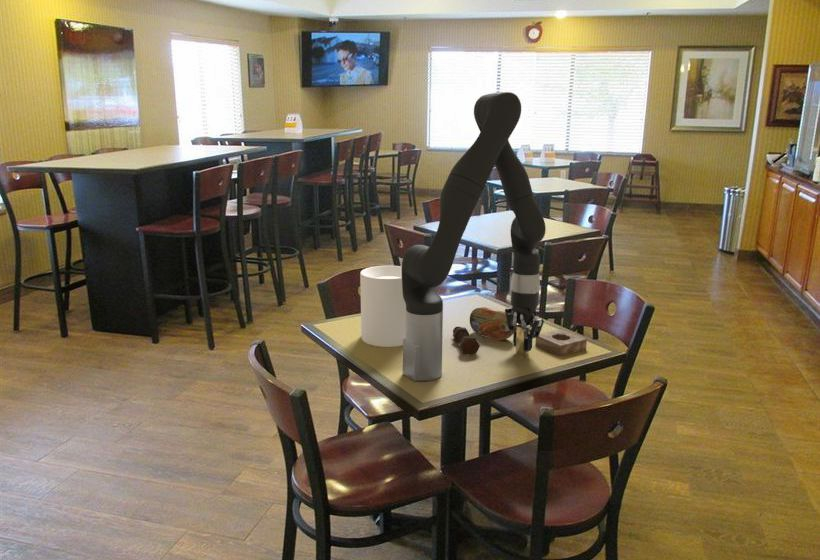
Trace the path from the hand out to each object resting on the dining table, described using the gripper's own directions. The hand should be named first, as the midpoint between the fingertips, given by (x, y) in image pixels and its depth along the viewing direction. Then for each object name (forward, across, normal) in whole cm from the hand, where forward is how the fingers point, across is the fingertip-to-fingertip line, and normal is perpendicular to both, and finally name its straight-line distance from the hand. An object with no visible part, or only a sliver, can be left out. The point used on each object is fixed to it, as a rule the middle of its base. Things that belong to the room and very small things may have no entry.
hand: (522, 348), depth 182 cm
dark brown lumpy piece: (+2, -14, -10) cm, 17 cm away
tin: (+2, -16, +2) cm, 16 cm away
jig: (+2, +2, +13) cm, 13 cm away
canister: (+2, -31, -25) cm, 40 cm away
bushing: (+2, 0, 0) cm, 2 cm away
